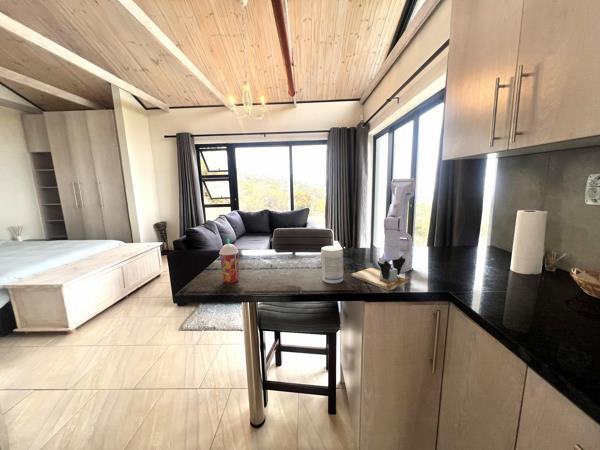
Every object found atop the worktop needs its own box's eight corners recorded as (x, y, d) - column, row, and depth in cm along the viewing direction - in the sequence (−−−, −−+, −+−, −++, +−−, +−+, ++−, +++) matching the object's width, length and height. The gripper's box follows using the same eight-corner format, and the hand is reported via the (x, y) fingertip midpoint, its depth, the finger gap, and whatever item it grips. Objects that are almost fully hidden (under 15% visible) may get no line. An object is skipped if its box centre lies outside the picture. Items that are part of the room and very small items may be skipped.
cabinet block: (386, 276, 106) (387, 264, 105) (396, 280, 102) (397, 267, 101) (380, 279, 104) (380, 266, 103) (390, 282, 100) (390, 269, 99)
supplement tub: (347, 280, 106) (348, 248, 104) (331, 286, 101) (331, 252, 99) (333, 274, 114) (333, 244, 112) (317, 279, 109) (316, 247, 107)
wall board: (371, 269, 119) (371, 265, 119) (409, 282, 103) (409, 277, 102) (351, 276, 112) (351, 271, 111) (388, 290, 95) (388, 285, 95)
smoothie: (244, 278, 111) (241, 236, 108) (232, 285, 104) (229, 240, 101) (230, 276, 115) (227, 235, 112) (217, 283, 108) (214, 239, 104)
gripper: (394, 241, 107) (393, 270, 109) (372, 246, 99) (372, 277, 101) (409, 243, 101) (407, 274, 103) (387, 249, 93) (386, 282, 95)
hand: (391, 276), depth 102 cm, fingers open, 7 cm apart
